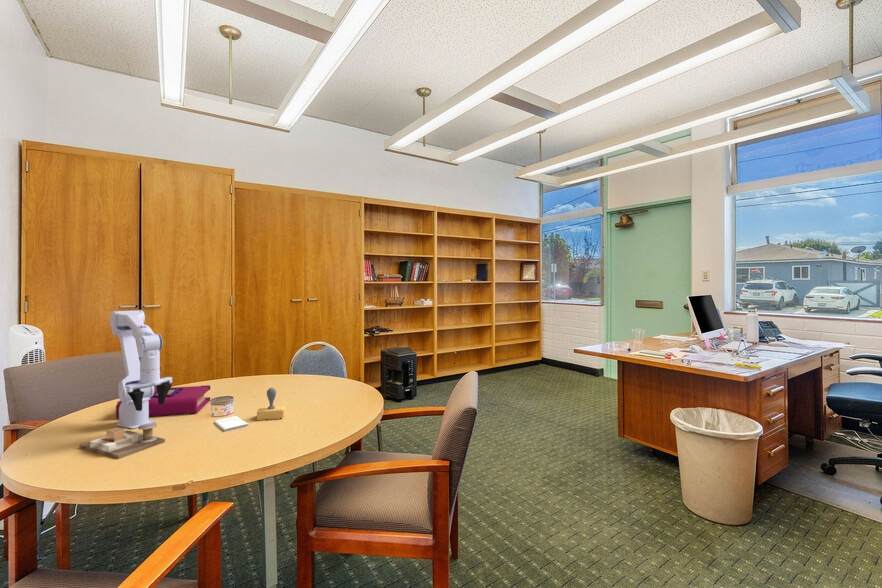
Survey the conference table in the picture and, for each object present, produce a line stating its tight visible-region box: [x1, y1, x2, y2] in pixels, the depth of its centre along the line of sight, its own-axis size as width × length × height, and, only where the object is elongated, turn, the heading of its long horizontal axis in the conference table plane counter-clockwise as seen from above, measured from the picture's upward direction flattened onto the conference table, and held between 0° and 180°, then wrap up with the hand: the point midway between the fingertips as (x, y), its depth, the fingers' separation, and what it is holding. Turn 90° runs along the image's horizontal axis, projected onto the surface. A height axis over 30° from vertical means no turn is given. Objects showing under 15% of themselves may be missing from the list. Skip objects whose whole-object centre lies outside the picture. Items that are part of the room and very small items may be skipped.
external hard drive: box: [214, 415, 249, 433], centre depth 152 cm, size 2×8×12 cm
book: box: [115, 384, 211, 420], centre depth 170 cm, size 21×28×8 cm
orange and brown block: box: [106, 427, 126, 442], centre depth 130 cm, size 4×3×5 cm
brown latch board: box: [78, 422, 166, 459], centre depth 132 cm, size 20×14×6 cm
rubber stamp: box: [256, 387, 287, 421], centre depth 161 cm, size 10×6×12 cm, turn 103°
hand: (150, 407), depth 142 cm, fingers open, 7 cm apart
